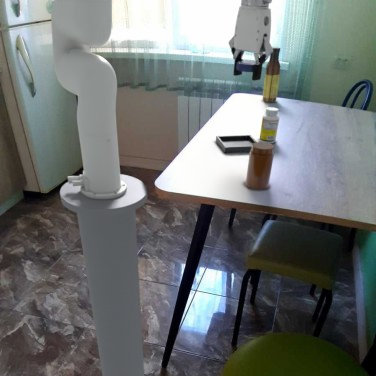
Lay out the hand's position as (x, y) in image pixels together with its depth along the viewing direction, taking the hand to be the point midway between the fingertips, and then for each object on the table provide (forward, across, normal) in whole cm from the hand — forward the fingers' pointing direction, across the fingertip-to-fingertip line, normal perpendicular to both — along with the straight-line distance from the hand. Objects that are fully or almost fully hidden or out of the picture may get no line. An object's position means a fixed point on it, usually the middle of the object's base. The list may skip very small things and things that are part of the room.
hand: (246, 76), depth 123 cm
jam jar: (+20, -24, +18) cm, 36 cm away
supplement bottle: (+21, -2, -13) cm, 24 cm away
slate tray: (+20, +1, -1) cm, 20 cm away
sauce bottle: (+21, +34, -56) cm, 69 cm away
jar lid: (-3, 0, 0) cm, 3 cm away
